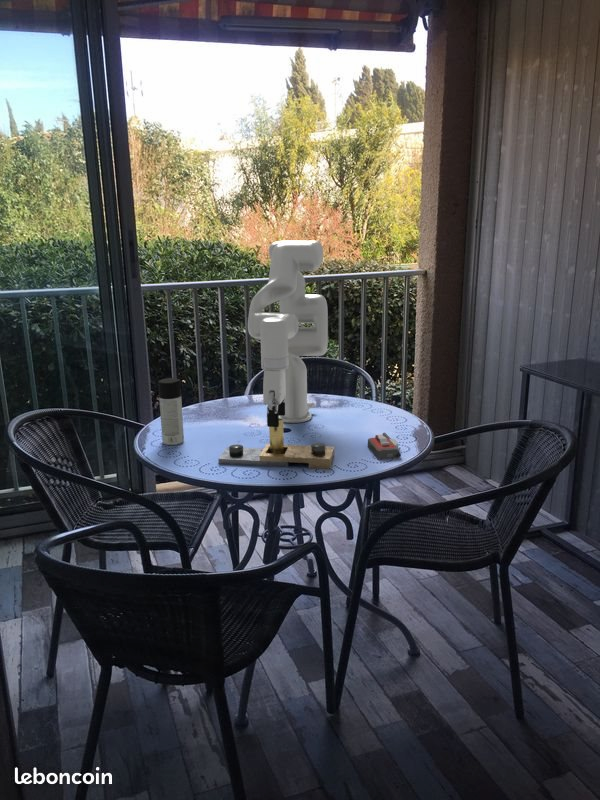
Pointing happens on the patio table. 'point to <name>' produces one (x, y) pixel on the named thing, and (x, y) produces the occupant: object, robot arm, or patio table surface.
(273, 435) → the pin
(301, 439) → the patio table surface
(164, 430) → the spray can
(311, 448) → the peg insertion board
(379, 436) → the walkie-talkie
